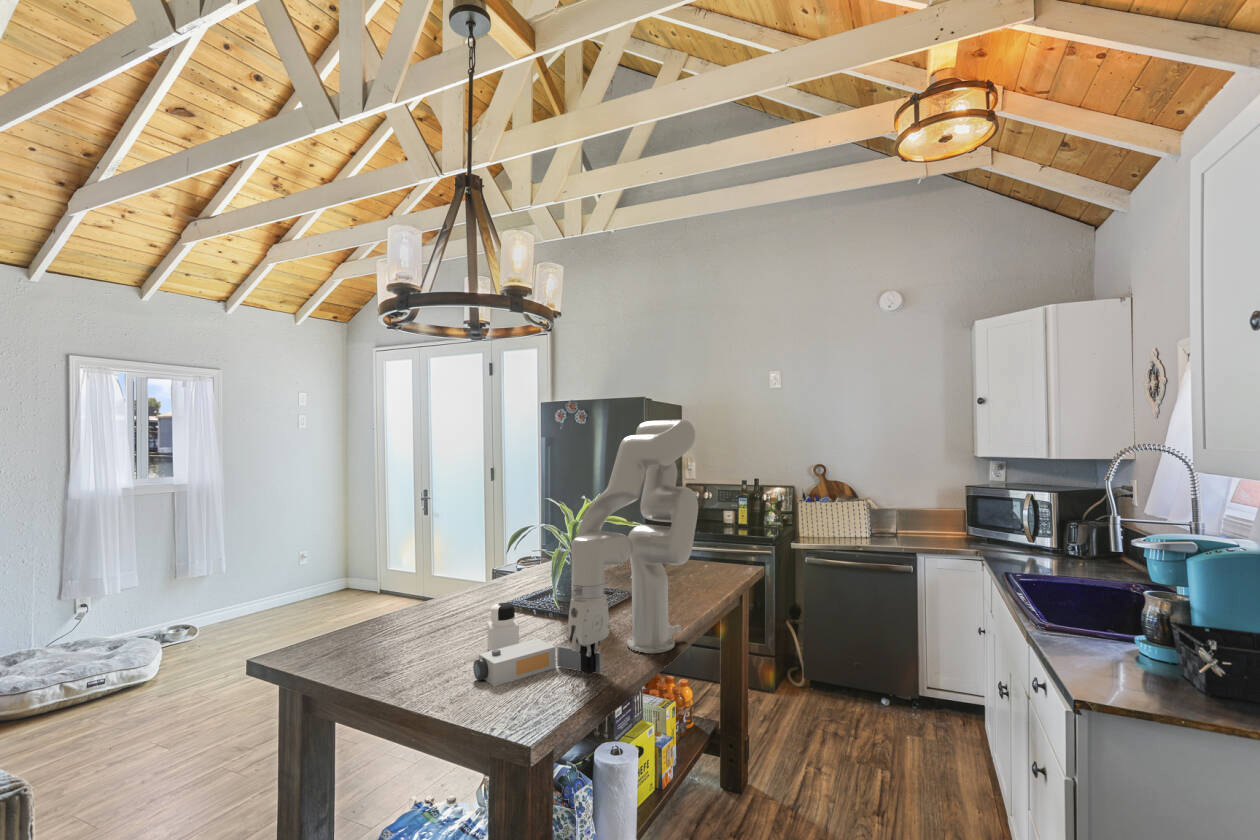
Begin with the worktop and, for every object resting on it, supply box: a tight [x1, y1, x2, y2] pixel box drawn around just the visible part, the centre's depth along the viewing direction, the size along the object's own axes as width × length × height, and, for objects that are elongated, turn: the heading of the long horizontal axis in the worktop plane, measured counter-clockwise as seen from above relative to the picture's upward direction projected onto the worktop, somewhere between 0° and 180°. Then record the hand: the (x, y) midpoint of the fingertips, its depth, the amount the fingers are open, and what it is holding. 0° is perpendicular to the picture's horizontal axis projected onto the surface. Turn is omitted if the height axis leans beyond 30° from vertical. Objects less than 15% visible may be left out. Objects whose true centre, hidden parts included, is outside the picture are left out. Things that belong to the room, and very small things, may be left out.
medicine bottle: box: [486, 602, 520, 651], centre depth 154 cm, size 7×7×12 cm
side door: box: [556, 645, 603, 674], centre depth 140 cm, size 12×1×5 cm, turn 65°
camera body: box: [472, 638, 557, 687], centre depth 139 cm, size 18×8×6 cm, turn 130°
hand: (588, 671), depth 135 cm, fingers closed
